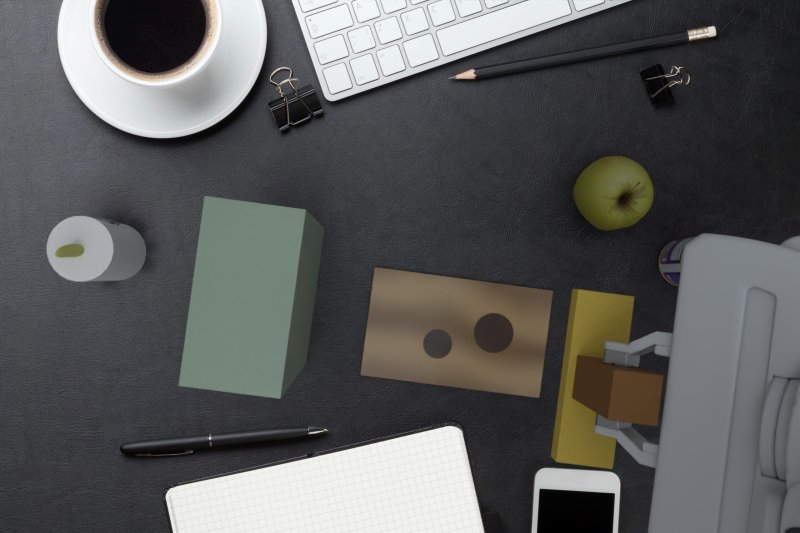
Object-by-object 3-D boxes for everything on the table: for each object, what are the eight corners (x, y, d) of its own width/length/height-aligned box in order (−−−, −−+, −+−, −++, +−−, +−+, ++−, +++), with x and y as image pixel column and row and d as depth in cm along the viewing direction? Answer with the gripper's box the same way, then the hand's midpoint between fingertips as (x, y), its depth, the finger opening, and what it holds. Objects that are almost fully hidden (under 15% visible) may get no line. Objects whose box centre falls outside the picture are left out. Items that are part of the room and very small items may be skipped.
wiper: (605, 463, 54) (656, 504, 44) (550, 456, 54) (589, 496, 44) (627, 295, 54) (682, 300, 44) (572, 288, 54) (615, 291, 44)
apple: (571, 146, 84) (625, 141, 74) (628, 173, 86) (686, 171, 77) (546, 213, 84) (597, 216, 74) (603, 238, 86) (659, 244, 77)
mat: (538, 397, 84) (539, 398, 84) (360, 374, 84) (360, 375, 83) (552, 290, 84) (553, 290, 84) (374, 266, 84) (374, 266, 83)
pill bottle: (710, 279, 85) (754, 279, 75) (665, 292, 85) (702, 294, 75) (696, 232, 85) (738, 227, 75) (651, 246, 85) (687, 242, 75)
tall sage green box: (306, 363, 83) (280, 399, 59) (233, 354, 83) (178, 386, 59) (324, 228, 84) (306, 209, 60) (252, 218, 83) (204, 195, 59)
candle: (155, 233, 83) (107, 224, 68) (133, 289, 83) (80, 292, 68) (101, 212, 83) (41, 198, 68) (79, 268, 83) (14, 267, 68)
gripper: (857, 229, 37) (600, 218, 46) (806, 650, 37) (557, 552, 46) (884, 245, 42) (645, 232, 51) (839, 618, 41) (606, 535, 51)
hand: (603, 386), depth 48 cm, fingers closed on wiper, 3 cm apart
